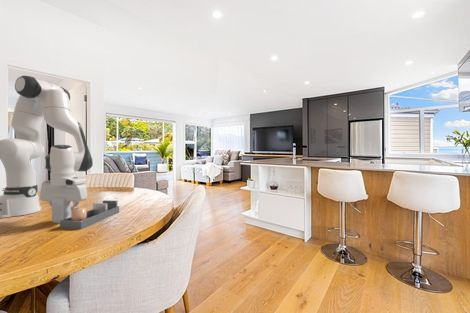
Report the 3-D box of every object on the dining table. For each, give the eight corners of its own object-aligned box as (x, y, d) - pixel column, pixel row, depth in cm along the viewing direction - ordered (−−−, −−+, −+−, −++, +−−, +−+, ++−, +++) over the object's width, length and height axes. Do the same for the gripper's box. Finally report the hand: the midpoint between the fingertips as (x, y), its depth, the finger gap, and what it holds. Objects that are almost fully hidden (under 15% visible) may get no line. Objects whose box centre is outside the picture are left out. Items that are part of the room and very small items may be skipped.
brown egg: (68, 226, 88) (68, 210, 88) (78, 222, 93) (78, 207, 93) (79, 227, 87) (79, 210, 87) (89, 223, 92) (89, 207, 92)
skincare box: (72, 221, 97) (71, 196, 97) (63, 225, 93) (63, 198, 92) (60, 221, 97) (59, 195, 97) (51, 224, 93) (51, 197, 93)
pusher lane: (59, 230, 86) (59, 213, 86) (101, 213, 110) (101, 200, 110) (81, 231, 85) (81, 214, 85) (119, 214, 109) (119, 200, 109)
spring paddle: (92, 215, 102) (92, 203, 102) (94, 215, 103) (94, 203, 103) (105, 216, 101) (105, 204, 101) (107, 215, 102) (107, 203, 102)
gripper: (35, 181, 93) (36, 212, 93) (78, 181, 91) (79, 212, 92) (48, 179, 99) (49, 208, 99) (89, 179, 97) (90, 208, 98)
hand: (64, 210), depth 95 cm, fingers open, 8 cm apart
